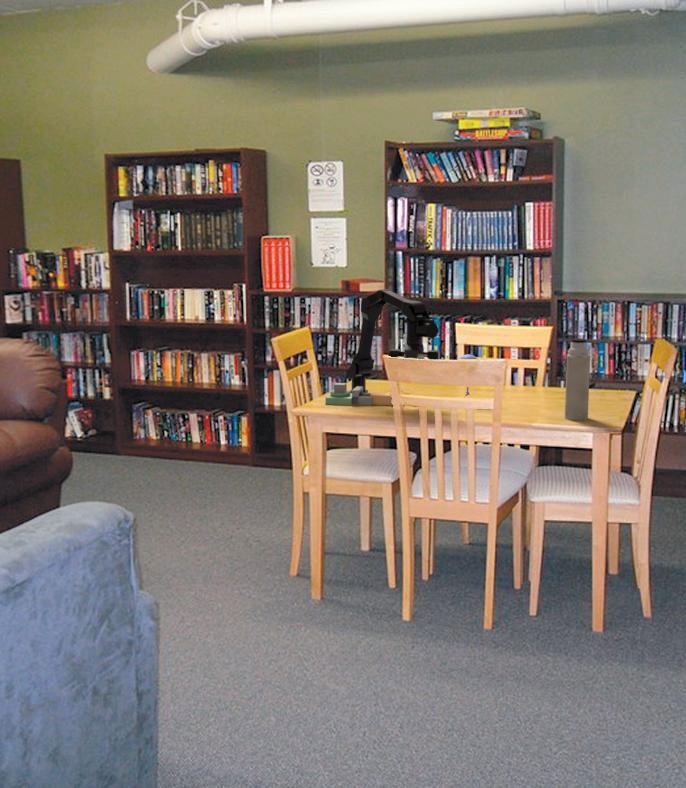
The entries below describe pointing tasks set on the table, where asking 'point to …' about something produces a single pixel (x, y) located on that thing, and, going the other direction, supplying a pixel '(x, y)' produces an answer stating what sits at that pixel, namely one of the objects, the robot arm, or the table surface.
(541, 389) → the table surface
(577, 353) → the thermos bottle
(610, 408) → the table surface
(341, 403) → the deck
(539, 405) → the table surface
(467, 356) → the baby rattle
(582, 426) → the table surface
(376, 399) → the chute
